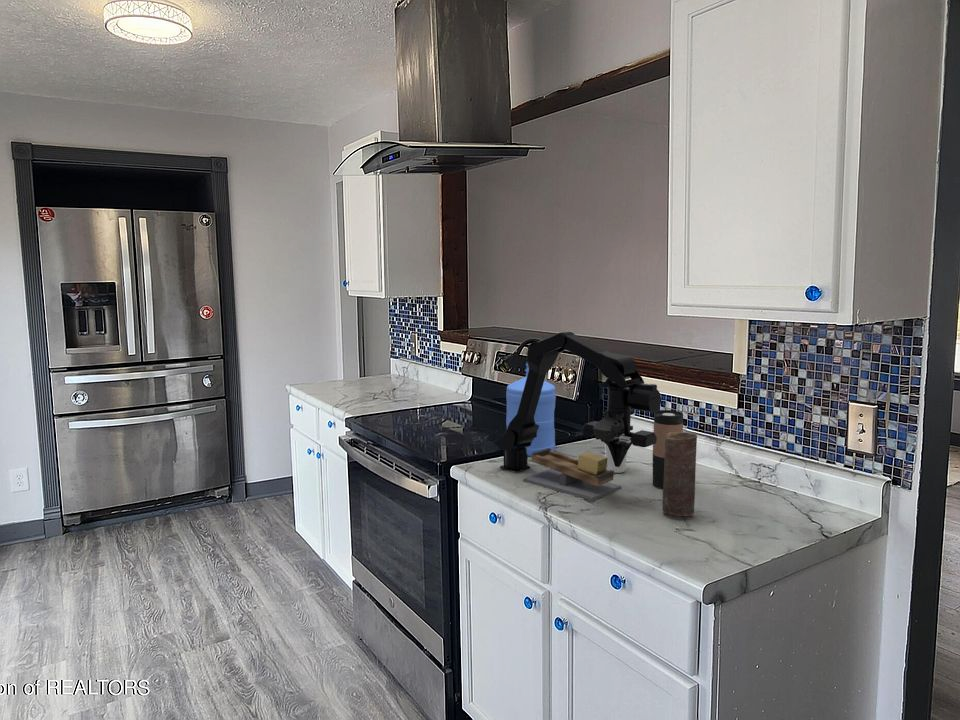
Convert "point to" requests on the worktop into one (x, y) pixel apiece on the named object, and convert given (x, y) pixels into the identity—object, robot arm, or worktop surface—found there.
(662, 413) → the travel mug
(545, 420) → the water jug
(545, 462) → the beam
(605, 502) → the worktop surface
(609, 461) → the drinking glass
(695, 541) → the worktop surface
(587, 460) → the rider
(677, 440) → the candle
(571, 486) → the stand
